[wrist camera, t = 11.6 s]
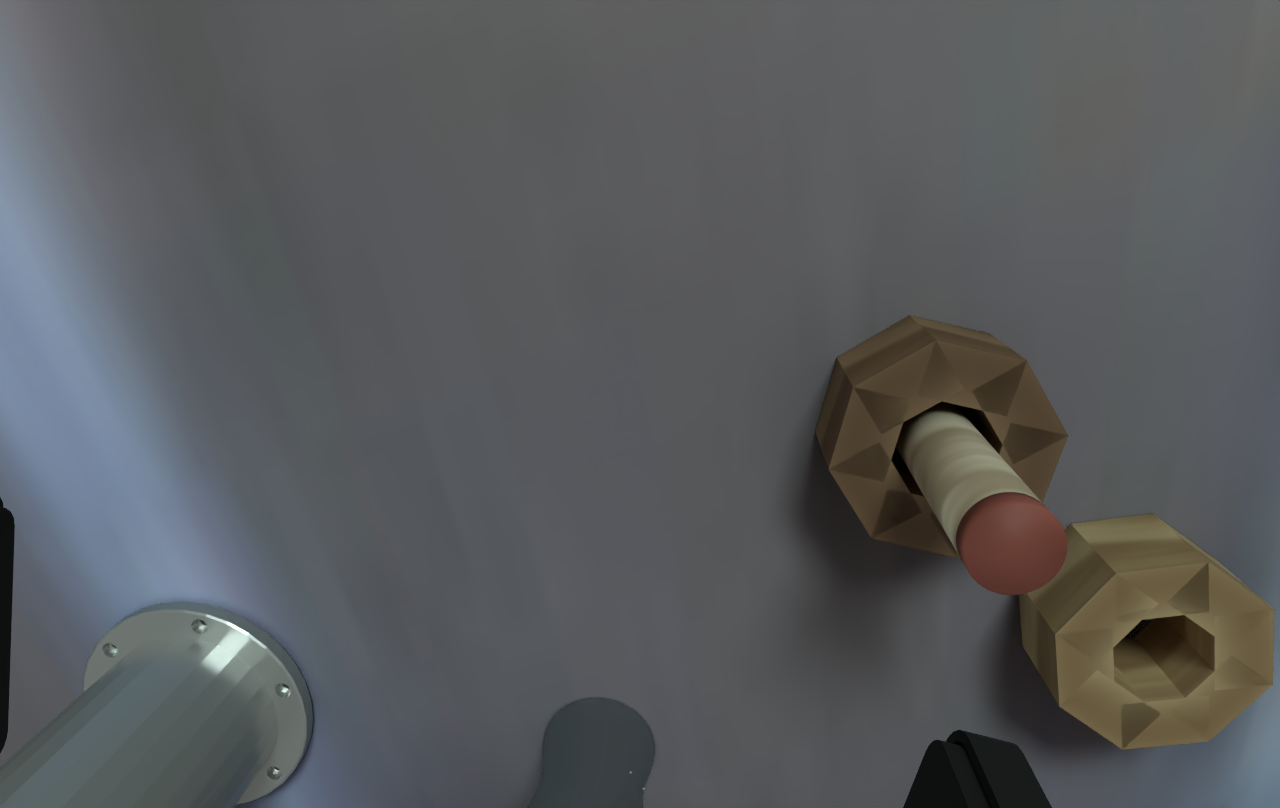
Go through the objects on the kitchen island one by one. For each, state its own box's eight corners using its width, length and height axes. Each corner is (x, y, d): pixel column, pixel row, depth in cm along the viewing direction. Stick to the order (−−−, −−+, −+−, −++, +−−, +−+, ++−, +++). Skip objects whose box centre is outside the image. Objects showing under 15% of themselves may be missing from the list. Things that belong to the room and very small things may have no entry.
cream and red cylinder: (940, 455, 42) (1047, 604, 29) (875, 439, 42) (951, 582, 29) (962, 391, 41) (1082, 516, 28) (894, 376, 41) (982, 494, 28)
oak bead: (1211, 670, 44) (1271, 734, 40) (1025, 690, 46) (1062, 755, 41) (1211, 505, 42) (1275, 554, 37) (1014, 531, 43) (1051, 581, 38)
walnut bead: (982, 522, 43) (1015, 571, 38) (800, 481, 43) (811, 524, 38) (1046, 346, 40) (1091, 375, 36) (852, 302, 40) (871, 325, 36)
